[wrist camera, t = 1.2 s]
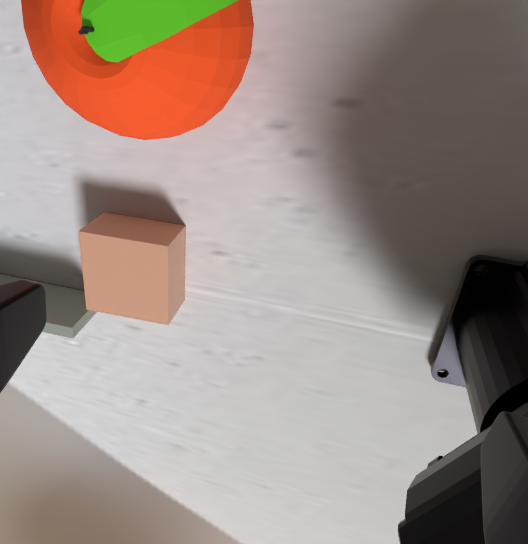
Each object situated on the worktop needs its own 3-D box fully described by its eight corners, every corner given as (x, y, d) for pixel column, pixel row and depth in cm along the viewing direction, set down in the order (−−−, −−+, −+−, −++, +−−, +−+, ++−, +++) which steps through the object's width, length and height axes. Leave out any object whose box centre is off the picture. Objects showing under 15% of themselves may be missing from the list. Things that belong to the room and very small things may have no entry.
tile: (186, 297, 25) (168, 325, 23) (110, 283, 25) (86, 309, 23) (187, 223, 23) (168, 246, 21) (105, 210, 23) (78, 231, 21)
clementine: (272, -136, 16) (208, -226, 10) (318, 87, 19) (291, 127, 13) (64, -53, 18) (-95, -83, 12) (133, 134, 21) (34, 188, 15)
